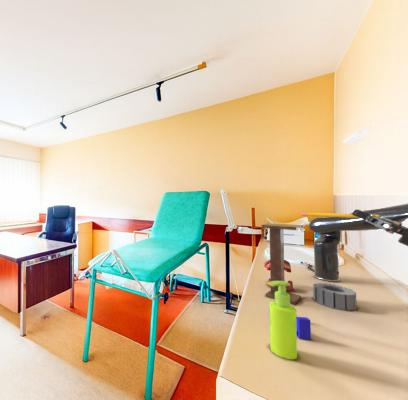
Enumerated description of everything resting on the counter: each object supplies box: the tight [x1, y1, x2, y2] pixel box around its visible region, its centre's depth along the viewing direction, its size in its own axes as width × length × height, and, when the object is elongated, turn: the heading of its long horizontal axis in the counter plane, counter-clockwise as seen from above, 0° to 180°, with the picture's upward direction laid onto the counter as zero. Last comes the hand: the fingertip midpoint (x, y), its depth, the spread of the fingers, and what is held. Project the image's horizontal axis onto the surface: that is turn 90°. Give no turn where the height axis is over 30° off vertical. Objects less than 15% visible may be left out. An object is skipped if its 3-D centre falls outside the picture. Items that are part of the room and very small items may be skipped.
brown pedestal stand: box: [261, 222, 304, 306], centre depth 94 cm, size 12×10×32 cm
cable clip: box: [296, 316, 312, 340], centre depth 72 cm, size 12×4×6 cm, turn 168°
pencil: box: [300, 211, 379, 218], centre depth 81 cm, size 20×1×1 cm, turn 36°
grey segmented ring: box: [312, 282, 357, 311], centre depth 88 cm, size 12×12×6 cm
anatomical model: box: [263, 259, 294, 293], centre depth 104 cm, size 10×8×15 cm
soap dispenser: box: [266, 280, 298, 360], centre depth 61 cm, size 6×7×20 cm
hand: (354, 211), depth 77 cm, fingers closed on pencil, 1 cm apart
